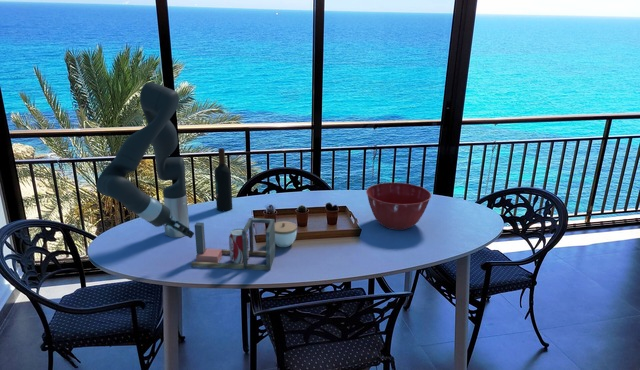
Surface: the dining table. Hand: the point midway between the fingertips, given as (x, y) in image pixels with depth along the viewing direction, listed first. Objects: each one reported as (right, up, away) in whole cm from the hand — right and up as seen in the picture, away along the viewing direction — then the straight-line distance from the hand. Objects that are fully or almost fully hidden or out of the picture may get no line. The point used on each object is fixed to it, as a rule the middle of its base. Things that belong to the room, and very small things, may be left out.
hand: (185, 232), depth 160 cm
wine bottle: (+2, +5, +58) cm, 58 cm away
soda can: (+18, -12, +8) cm, 23 cm away
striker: (+6, -11, +8) cm, 15 cm away
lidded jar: (+34, -7, +22) cm, 41 cm away
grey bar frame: (+17, -12, +8) cm, 22 cm away
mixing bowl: (+83, -1, +43) cm, 93 cm away
